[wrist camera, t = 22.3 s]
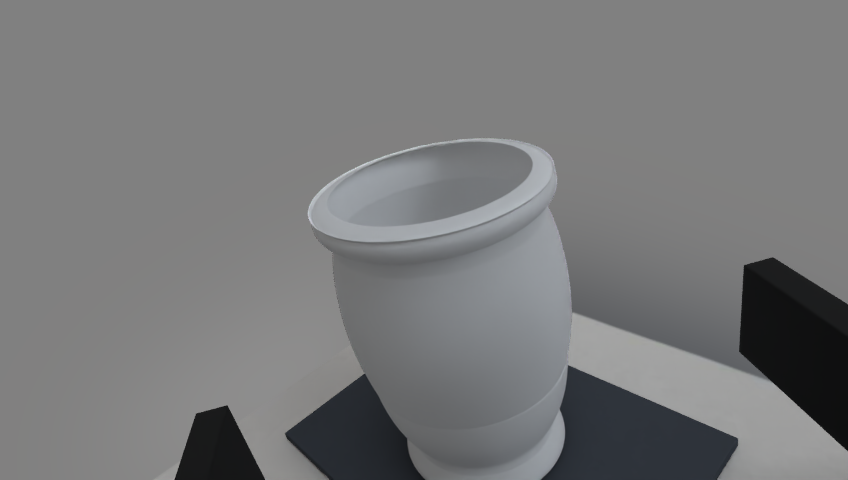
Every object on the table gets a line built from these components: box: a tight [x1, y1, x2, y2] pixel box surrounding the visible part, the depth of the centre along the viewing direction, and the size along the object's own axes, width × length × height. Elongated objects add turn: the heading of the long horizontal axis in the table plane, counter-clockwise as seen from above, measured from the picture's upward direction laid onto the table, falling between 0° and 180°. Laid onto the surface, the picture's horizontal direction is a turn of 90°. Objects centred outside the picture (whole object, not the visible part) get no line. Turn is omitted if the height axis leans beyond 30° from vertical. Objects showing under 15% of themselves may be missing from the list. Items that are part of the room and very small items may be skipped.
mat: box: [285, 365, 738, 480], centre depth 29 cm, size 20×14×1 cm
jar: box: [308, 138, 572, 480], centre depth 26 cm, size 11×10×15 cm
